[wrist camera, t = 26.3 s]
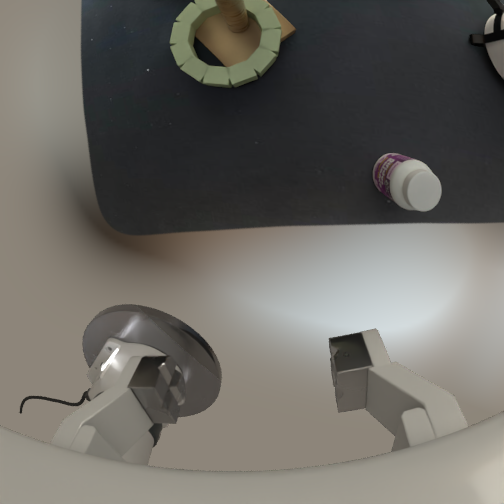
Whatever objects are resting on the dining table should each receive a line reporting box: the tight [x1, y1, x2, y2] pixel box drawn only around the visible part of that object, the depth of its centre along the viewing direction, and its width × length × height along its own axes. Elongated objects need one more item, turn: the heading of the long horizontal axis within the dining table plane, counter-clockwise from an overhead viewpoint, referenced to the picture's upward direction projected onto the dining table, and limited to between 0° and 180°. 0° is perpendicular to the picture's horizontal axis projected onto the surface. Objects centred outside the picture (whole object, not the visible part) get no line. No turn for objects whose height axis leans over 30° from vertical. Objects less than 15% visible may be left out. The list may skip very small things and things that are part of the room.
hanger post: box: [195, 0, 296, 67], centre depth 23 cm, size 9×9×12 cm
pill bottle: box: [373, 153, 441, 211], centre depth 30 cm, size 5×5×10 cm
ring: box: [170, 0, 282, 88], centre depth 27 cm, size 12×12×2 cm
